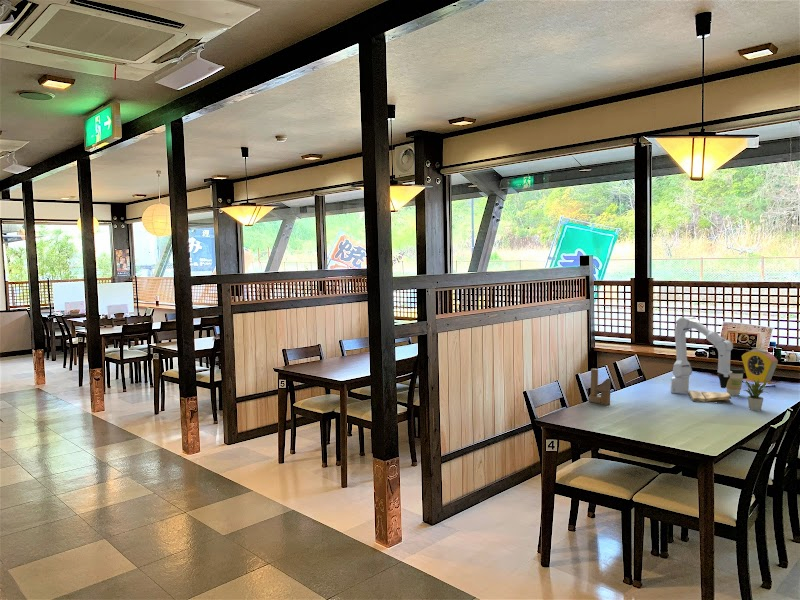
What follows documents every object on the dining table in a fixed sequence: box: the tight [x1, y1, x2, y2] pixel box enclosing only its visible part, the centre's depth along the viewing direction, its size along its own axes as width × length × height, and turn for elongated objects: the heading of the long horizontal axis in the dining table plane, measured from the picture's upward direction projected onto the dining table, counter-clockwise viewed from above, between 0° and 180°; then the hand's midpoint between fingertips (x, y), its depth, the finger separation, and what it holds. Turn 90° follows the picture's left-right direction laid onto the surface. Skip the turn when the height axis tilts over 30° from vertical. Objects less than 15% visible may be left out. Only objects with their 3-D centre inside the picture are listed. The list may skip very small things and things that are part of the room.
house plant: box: [743, 378, 774, 411], centre depth 305 cm, size 14×14×16 cm
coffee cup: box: [725, 366, 745, 396], centre depth 340 cm, size 10×10×15 cm
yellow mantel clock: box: [741, 348, 779, 384], centre depth 369 cm, size 22×9×22 cm, turn 17°
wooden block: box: [588, 368, 612, 406], centre depth 321 cm, size 4×11×18 cm, turn 39°
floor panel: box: [688, 390, 733, 405], centre depth 331 cm, size 19×20×2 cm
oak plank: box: [704, 392, 732, 401], centre depth 325 cm, size 12×9×1 cm
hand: (723, 387), depth 324 cm, fingers closed
